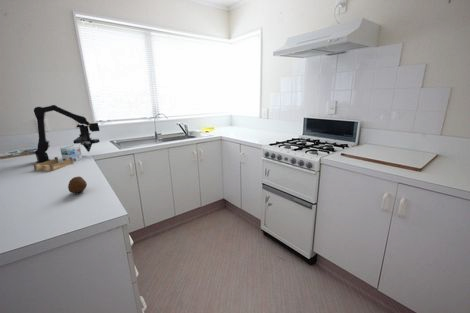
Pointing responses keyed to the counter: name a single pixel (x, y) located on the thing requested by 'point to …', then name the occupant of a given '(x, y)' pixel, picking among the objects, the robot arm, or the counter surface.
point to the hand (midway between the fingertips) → (88, 151)
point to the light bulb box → (71, 152)
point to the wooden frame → (52, 165)
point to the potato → (77, 185)
